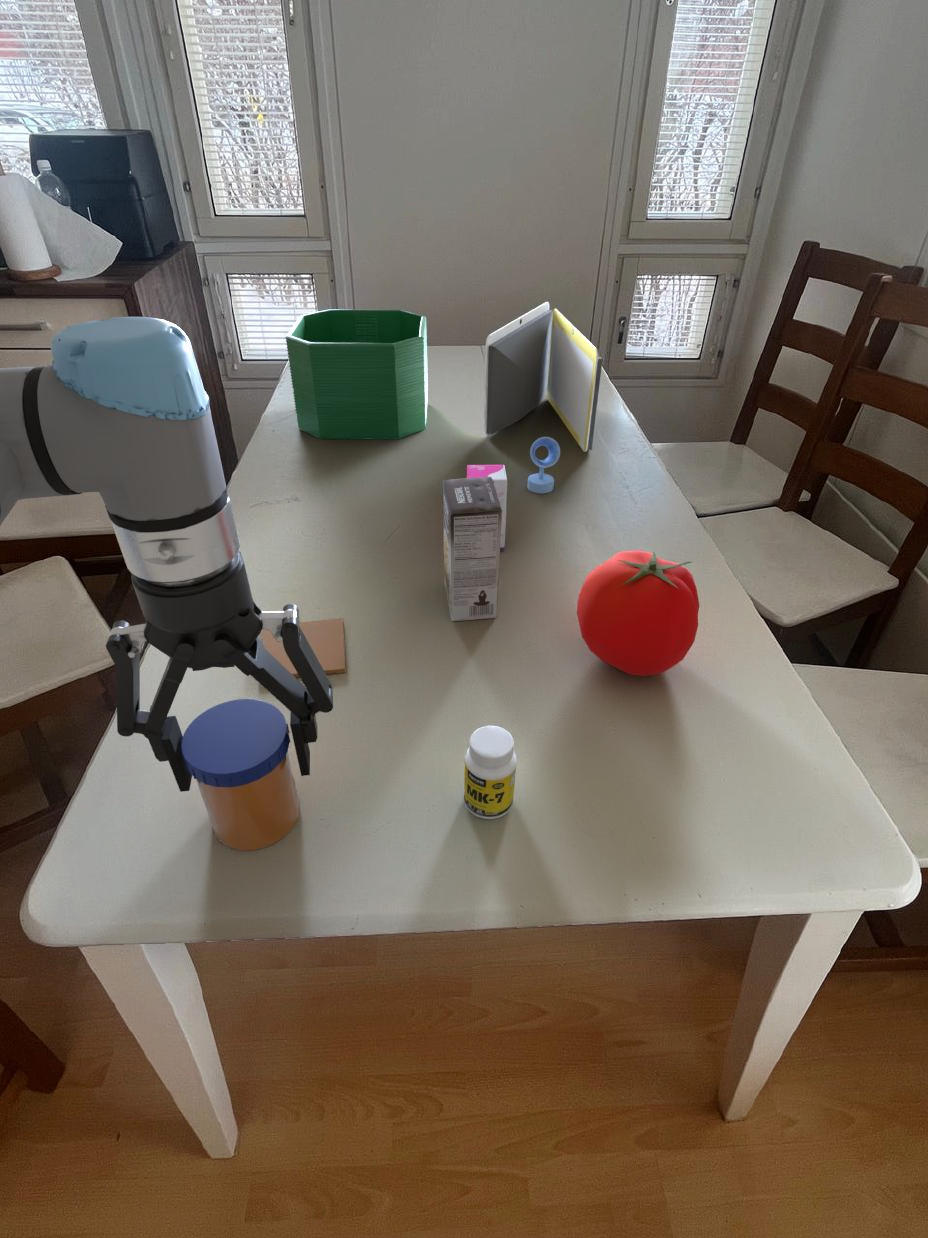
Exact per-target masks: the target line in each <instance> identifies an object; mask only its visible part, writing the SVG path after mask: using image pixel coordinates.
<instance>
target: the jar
mask: <svg viewBox="0 0 928 1238" xmlns="http://www.w3.org/2000/svg"><path fill="white" fill-rule="evenodd" d="M195 780H196V781H195V782H196V783H197V787H198V789H199V792H200V796H201V797H202V801H203V803H204V806H205V809H206V812H207V815H208V818H209V821H210V824H211V827H212V830H213V833H214V835H215V837H216V838H217V840H218V841H219V842H221V843H222V844H223V845H225V846H226V847H227V848H230V849H234V850H236V851H245V852H247V851H248V852H249V851H256V850H257V851H258V850H261V849H265V848H267V847H270V846H272V845H274V844H276V843H277V842H279V841H280V840H282V839H283V838H285V837H286V836H287V835H288V834H289V833H290V831H292V829H293V828H294V826H295V825H296V823H297V821H298V818H299V815H300V809H301V807H300V800H299V794H298V789H297V785H296V780H295V776H294V771H293V766H292V761H291V757H290V752H289V751H288V753H286V755H285V757H284V759H283V760H282V762H281V763H280V764H279V765H278V766H277V767H276V768H275V769H274V770H273V771H272V772H270V773H269V774H267V775H266V776H264V777H262V778H261V779H259V780H256V781H254V782H252V783H249V784H246V785H241V786H236V787H215V786H210V785H207V784H206V785H205V784H204V783H202V782H200V781H199V780H197V779H195Z"/></svg>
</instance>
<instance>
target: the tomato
mask: <svg viewBox="0 0 928 1238" xmlns="http://www.w3.org/2000/svg"><path fill="white" fill-rule="evenodd" d="M690 563H692V561H685V562H681V563H678V562H673V561H668V560H665V559H662V558H660V557H658V556H657V554H656V552H655V551H654V552H653V553H651V552H648V551H644V550H643V551H642V550H638V549H637V550H636V549H635V550H626V551H625V550H624V551H619V552H617V553H616V554H614V555H613V556H611V557H610V558H609V559H607V560H606V561H605V562H603V563H602V564H599V565H597V566H596V567H595V568H593V569H592V571H590V572H589V573H588V574H587V575H586V577H585V579H584V581H583V584H582V585H581V586H582V587H581V588H580V591H579V593H578V596H577V601H576V602H577V603H576V616H577V620H578V623H579V625H578V626H579V629H580V634H581V637H582V639H583V641H584V643H585V644H586V647H587V648H588V649H589V651H590V652H591V653H592V654H594V656H595V657H597V658H598V659H599V660H601V661H602V662H604V663H606V664H608V665H610V666H612V667H613V668H616V669H618V670H620V671H622V672H624V673H626V674H627V675H630V676H643V677H647V676H653V675H658V674H663V673H665V672H666V671H668V670H669V669H671V668H673V667H675V666H676V665H679V663H680V662H682V661H683V660H684V659H685V657H686V656H687V654H688V652H689V651H690V649H692V646H693V644H694V643H695V640H696V636H697V633H698V627H699V610H700V600H699V594H698V587H697V585H696V582H695V579H694V576H693V574H692V573H691V572H690V570H688V569H687V568H686V567H684V566H685V565H687V564H690Z"/></svg>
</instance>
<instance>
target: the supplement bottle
mask: <svg viewBox="0 0 928 1238" xmlns="http://www.w3.org/2000/svg"><path fill="white" fill-rule="evenodd" d="M514 748H515V741H514V738H513V736H512V734H511V733H510V732H509V731H508V730H507V729H505V728H503V727H500V726H496V725H485V726H482V727H479V728H477V729H476V730H475V731H473V733H472V734H471V736H470V738H469V746H468V748H467V750H466V752H465V756H464V776H463V777H464V779H463V781H464V782H463V801H464V805H465V807H466V809H467V810H468V812H470V813H471V814H472V815H474V816H475V817H477V818H479V819H483V820H494V819H499V818H502V817H504V816H505V815H506V814H507V813H508V812H509V811H510V810H511V808H512V806H513V803H514V796H515V795H514V793H515V785H516V775H517V774H516V773H517V755H516V752H515V749H514Z"/></svg>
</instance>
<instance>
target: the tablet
mask: <svg viewBox="0 0 928 1238" xmlns="http://www.w3.org/2000/svg"><path fill="white" fill-rule="evenodd" d="M484 349H485V350H484V351H485V352H484V355H485V356H484V357H485V358H484V398H483V399H484V400H483V401H484V403H483V405H484V406H483V407H484V409H483V434H484V436H489V435H494V434H496V433H498V432H500V431H501V430H503V429H505V428H507V427H509V426H511V425H513V424H514V423H517V422H518V421H520V420H521V419H523V418H524V417H525V416H526V415H528V413H530V412H532V410H533V409H535V408H536V407H537V406H538V405H539V404H540V402H541V400H542V399H543V397H544V395H545V394H546V398H547V401H548V403H549V404H550V405H551V407H552V408H553V409H554V411H555V412H556V414H557V415H558V416H559V418H560V419H561V421H562V423H563V424H564V426H566V428H567V430H568V431H569V432H570V434H571V436H572V437H573V439H574V440H575V441H576V443H577V444H578V446H579V447H580V449H581V450H582V452H584V453H585V452H587V451H591V450H592V449H593V441H594V435H595V426H596V416H597V409H598V401H599V400H598V399H599V392H600V383H601V376H602V375H601V374H602V366H603V358H602V357H601V356H600V355H599V350H598V349H597V347H596V346H595V345H594V344H593V343H591V341H590V340H589V339H587V338H586V336H585V335H584V334H582V333H581V331H579V330H578V329H577V327H575V326H574V325H573V324H572V322H570V320H568V319H567V317H565V316H564V315H563V314H562V313H561V312H560V311H559V310H558V309H557V308H553V310H552V309H550V302H549V301H545V302H544V303H541V304H540V305H539V306H537V307H535V308H534V309H531V310H530V311H528V312H526V313H524V314H523V315H521V316H519V317H517V318H516V319H514V320H512V321H510V322H509V323H507V324H506V325H504V326H501V327H500V328H499V329H497V330H494V331H493V332H492V333H489V334H488V335H487V336H486V339H485V348H484Z"/></svg>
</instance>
